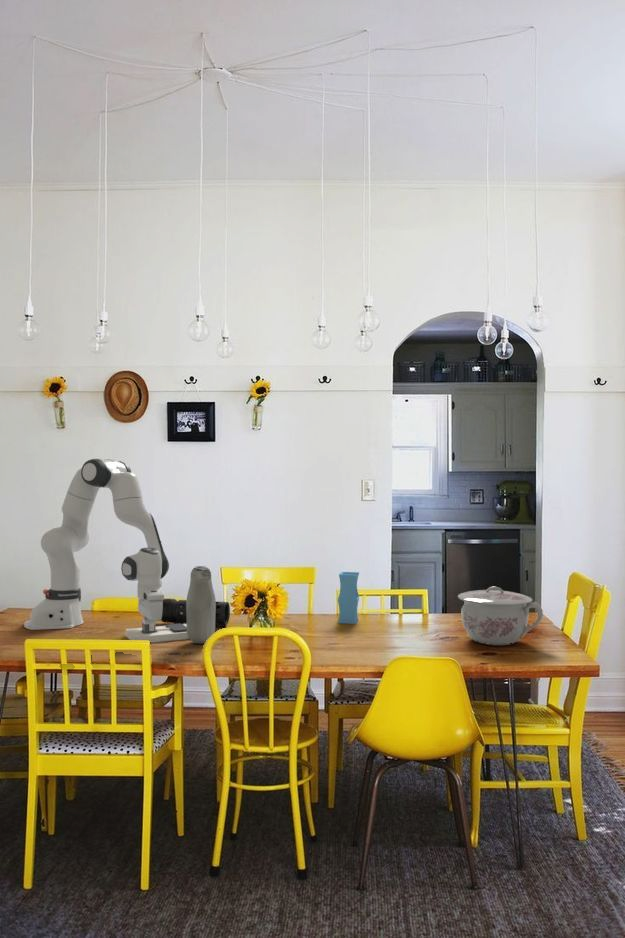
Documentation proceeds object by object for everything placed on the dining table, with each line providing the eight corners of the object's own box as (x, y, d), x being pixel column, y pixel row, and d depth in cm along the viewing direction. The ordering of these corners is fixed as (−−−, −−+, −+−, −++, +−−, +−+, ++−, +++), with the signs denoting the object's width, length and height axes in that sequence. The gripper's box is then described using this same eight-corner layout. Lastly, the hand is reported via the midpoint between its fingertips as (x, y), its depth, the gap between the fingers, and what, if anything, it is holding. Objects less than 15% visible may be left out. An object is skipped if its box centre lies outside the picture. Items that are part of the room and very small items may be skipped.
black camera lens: (223, 629, 318) (224, 603, 318) (155, 626, 322) (155, 600, 322) (230, 624, 328) (230, 599, 327) (163, 621, 332) (163, 596, 331)
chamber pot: (443, 636, 312) (444, 582, 311) (504, 631, 321) (505, 579, 321) (483, 653, 285) (484, 594, 285) (548, 647, 295) (549, 591, 295)
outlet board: (134, 644, 292) (135, 634, 292) (125, 635, 305) (125, 627, 305) (198, 638, 303) (198, 629, 303) (187, 630, 316) (187, 621, 315)
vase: (356, 623, 332) (357, 575, 331) (337, 623, 333) (338, 574, 332) (358, 620, 339) (359, 572, 339) (339, 619, 341) (340, 571, 340)
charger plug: (144, 637, 299) (145, 621, 299) (141, 635, 303) (142, 618, 302) (155, 636, 301) (155, 620, 301) (152, 634, 304) (152, 618, 304)
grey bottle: (220, 642, 297) (220, 565, 296) (201, 647, 288) (202, 569, 287) (199, 638, 302) (200, 563, 301) (180, 644, 293) (181, 566, 293)
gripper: (134, 588, 309) (133, 624, 310) (148, 597, 291) (148, 635, 291) (150, 587, 312) (150, 622, 312) (165, 595, 294) (165, 633, 294)
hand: (149, 629), depth 302 cm, fingers closed on charger plug, 4 cm apart
